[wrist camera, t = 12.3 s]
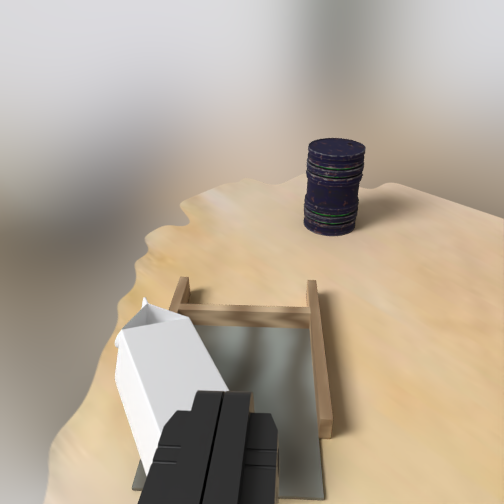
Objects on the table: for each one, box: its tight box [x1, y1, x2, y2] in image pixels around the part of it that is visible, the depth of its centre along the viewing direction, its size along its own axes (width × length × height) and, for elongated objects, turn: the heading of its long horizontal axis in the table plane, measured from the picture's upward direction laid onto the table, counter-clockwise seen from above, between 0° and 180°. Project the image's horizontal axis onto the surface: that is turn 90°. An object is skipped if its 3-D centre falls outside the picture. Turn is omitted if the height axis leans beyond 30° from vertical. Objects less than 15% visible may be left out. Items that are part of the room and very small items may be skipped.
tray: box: [132, 277, 333, 500], centre depth 49 cm, size 19×29×3 cm
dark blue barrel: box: [304, 138, 365, 236], centre depth 76 cm, size 10×10×15 cm
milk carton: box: [115, 297, 229, 476], centre depth 40 cm, size 7×7×19 cm
